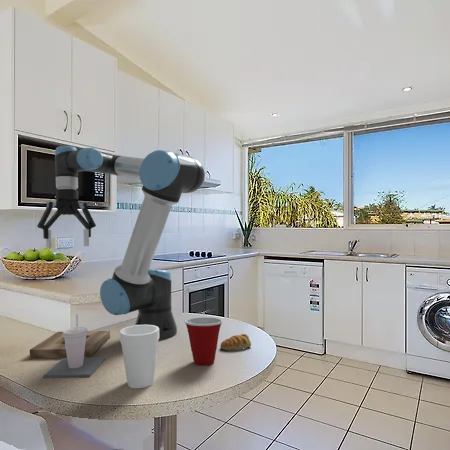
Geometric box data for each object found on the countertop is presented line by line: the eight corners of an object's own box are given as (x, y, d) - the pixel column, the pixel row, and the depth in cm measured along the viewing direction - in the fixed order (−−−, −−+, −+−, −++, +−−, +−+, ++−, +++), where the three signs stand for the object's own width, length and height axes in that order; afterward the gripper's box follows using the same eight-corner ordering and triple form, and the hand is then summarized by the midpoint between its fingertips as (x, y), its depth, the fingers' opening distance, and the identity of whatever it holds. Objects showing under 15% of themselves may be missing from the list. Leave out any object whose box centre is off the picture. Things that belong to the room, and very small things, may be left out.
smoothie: (79, 371, 95) (78, 317, 95) (57, 369, 96) (56, 317, 96) (92, 361, 101) (92, 312, 101) (72, 360, 103) (71, 311, 103)
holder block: (109, 338, 125) (109, 330, 125) (90, 357, 107) (90, 348, 107) (57, 338, 125) (57, 331, 125) (29, 358, 107) (29, 349, 107)
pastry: (227, 354, 108) (226, 341, 108) (216, 347, 114) (216, 335, 114) (253, 348, 113) (252, 336, 113) (241, 342, 119) (241, 331, 119)
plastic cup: (227, 356, 106) (227, 315, 106) (217, 370, 95) (217, 325, 95) (192, 353, 109) (191, 313, 109) (179, 367, 98) (178, 323, 98)
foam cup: (166, 377, 92) (165, 326, 92) (147, 393, 83) (146, 337, 83) (134, 373, 95) (133, 323, 95) (112, 388, 86) (111, 333, 86)
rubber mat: (105, 359, 105) (105, 357, 105) (89, 376, 93) (89, 374, 93) (63, 360, 105) (63, 357, 105) (43, 377, 93) (43, 375, 93)
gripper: (94, 192, 144) (96, 245, 144) (26, 188, 126) (27, 248, 126) (103, 190, 139) (105, 245, 139) (34, 186, 121) (35, 249, 121)
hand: (68, 247), depth 132 cm, fingers open, 13 cm apart
